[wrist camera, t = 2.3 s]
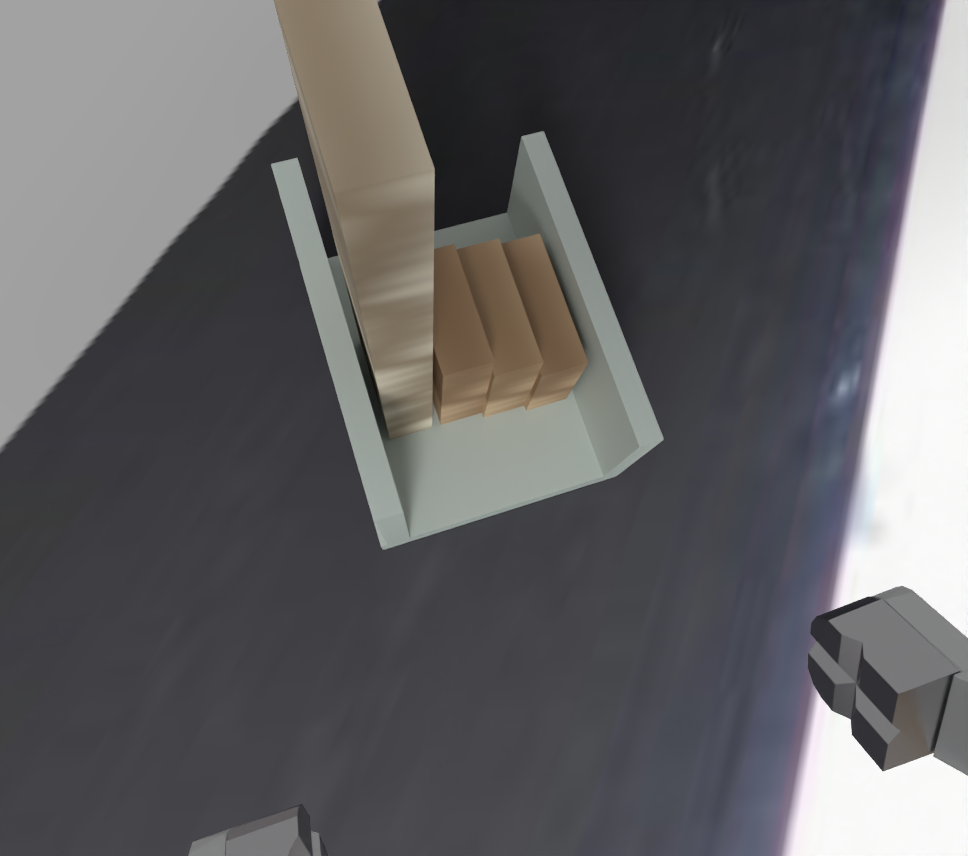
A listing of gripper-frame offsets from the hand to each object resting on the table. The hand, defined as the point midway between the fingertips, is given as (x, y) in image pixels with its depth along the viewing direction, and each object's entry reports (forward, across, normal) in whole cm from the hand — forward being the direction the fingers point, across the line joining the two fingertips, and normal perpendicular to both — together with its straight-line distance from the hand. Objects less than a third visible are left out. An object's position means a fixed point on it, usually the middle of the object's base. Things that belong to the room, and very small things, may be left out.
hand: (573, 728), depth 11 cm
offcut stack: (+24, -4, +6) cm, 25 cm away
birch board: (+24, 0, +6) cm, 24 cm away
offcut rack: (+25, -3, +7) cm, 26 cm away
